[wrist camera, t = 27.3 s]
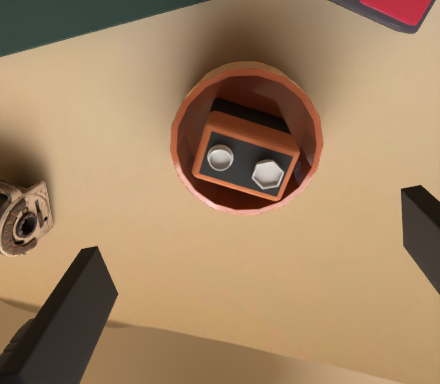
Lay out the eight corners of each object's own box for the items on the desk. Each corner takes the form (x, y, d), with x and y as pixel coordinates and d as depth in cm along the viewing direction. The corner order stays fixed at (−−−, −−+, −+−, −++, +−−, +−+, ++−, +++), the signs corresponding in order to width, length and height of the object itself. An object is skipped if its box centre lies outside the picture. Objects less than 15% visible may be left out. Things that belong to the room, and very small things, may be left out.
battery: (270, 162, 35) (281, 210, 26) (201, 140, 35) (187, 182, 26) (287, 118, 34) (305, 154, 24) (214, 95, 33) (205, 122, 24)
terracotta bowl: (199, 197, 38) (192, 226, 32) (165, 77, 33) (151, 88, 28) (317, 174, 36) (331, 200, 31) (298, 45, 32) (311, 49, 26)
